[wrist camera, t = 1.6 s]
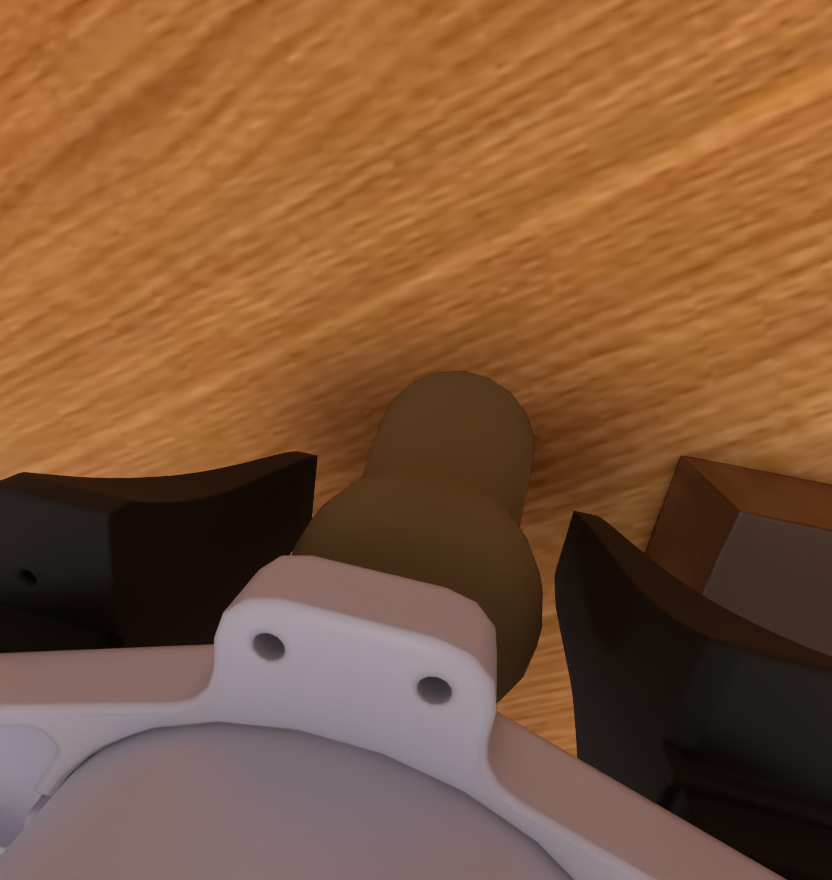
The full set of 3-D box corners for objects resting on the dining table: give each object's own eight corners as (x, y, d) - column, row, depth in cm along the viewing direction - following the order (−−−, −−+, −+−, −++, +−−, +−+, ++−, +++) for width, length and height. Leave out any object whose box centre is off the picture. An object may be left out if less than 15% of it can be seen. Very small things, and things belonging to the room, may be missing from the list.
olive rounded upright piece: (521, 356, 17) (551, 470, 7) (545, 508, 19) (598, 788, 8) (362, 386, 18) (184, 519, 8) (397, 526, 20) (286, 785, 10)
